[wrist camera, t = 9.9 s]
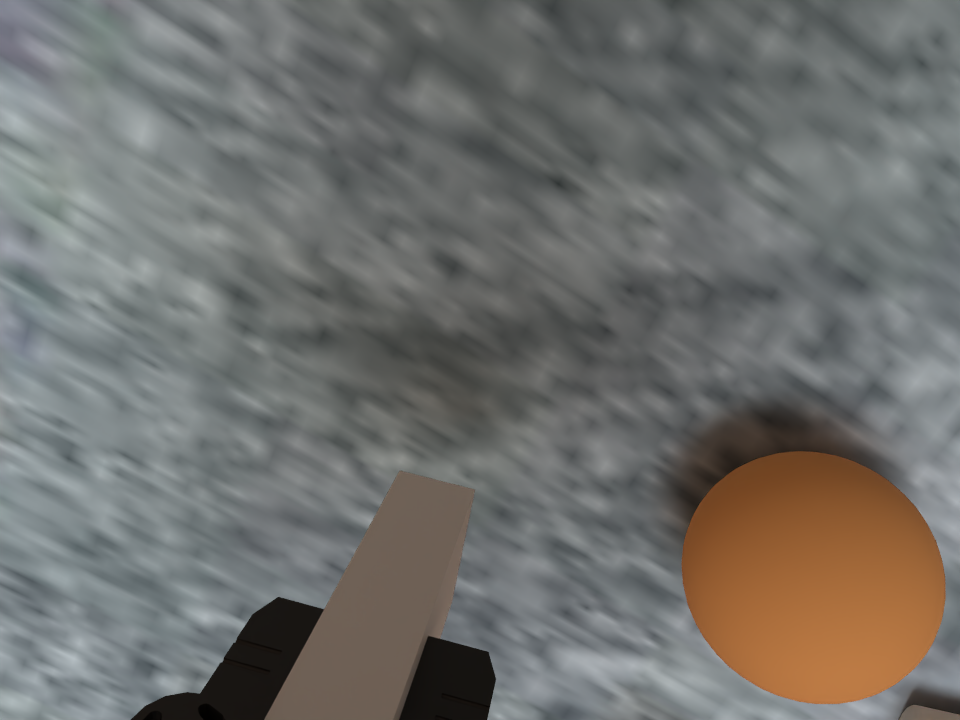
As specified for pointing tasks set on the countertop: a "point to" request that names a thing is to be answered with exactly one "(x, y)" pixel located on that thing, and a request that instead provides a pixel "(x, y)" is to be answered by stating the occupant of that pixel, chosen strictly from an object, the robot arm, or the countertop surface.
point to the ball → (813, 577)
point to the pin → (927, 714)
